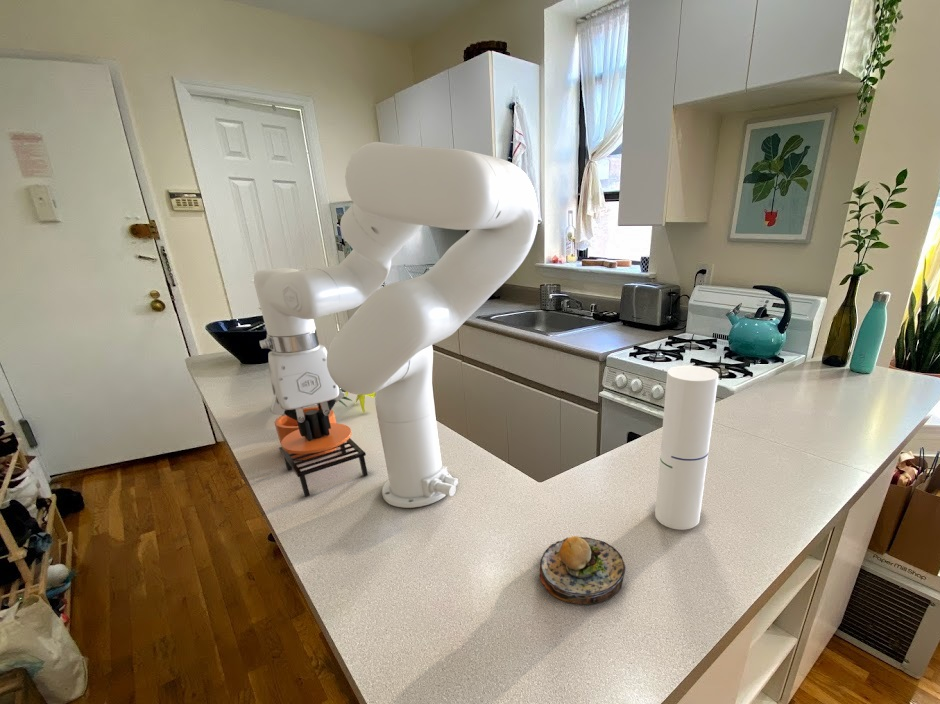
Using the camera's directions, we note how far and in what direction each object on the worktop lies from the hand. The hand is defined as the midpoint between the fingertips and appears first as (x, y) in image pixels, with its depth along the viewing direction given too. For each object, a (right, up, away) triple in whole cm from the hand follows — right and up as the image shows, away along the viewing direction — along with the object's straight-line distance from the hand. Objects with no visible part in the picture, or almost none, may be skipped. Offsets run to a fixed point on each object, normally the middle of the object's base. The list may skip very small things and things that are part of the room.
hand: (316, 435), depth 89 cm
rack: (0, -8, +3) cm, 8 cm away
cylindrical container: (+66, -13, -12) cm, 68 cm away
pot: (-8, -3, +13) cm, 16 cm away
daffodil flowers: (-14, +5, +34) cm, 37 cm away
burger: (+50, -19, -24) cm, 58 cm away
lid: (0, -1, 0) cm, 1 cm away
